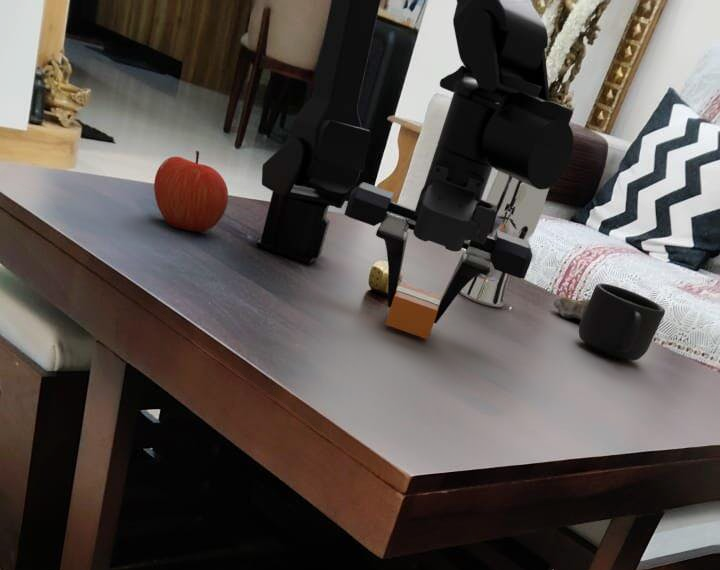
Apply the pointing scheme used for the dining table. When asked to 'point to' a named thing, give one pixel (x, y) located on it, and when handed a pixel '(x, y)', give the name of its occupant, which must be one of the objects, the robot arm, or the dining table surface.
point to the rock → (571, 307)
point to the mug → (619, 323)
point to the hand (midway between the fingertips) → (411, 314)
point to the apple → (190, 194)
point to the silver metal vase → (507, 232)
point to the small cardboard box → (413, 310)
